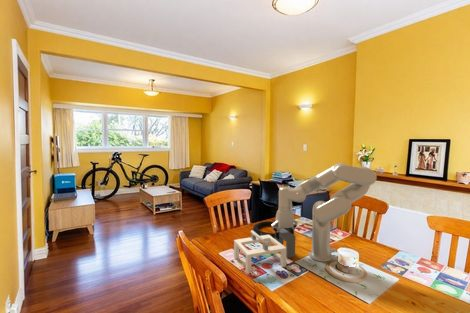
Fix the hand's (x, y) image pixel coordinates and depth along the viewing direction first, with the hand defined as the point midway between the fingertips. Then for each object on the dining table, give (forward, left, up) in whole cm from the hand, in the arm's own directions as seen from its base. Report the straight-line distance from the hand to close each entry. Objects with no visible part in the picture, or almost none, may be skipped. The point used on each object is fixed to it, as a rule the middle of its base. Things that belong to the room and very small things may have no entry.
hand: (284, 237), depth 145 cm
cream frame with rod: (+19, +5, -9) cm, 21 cm away
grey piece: (0, 0, -9) cm, 9 cm away
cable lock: (-8, -30, -10) cm, 32 cm away
